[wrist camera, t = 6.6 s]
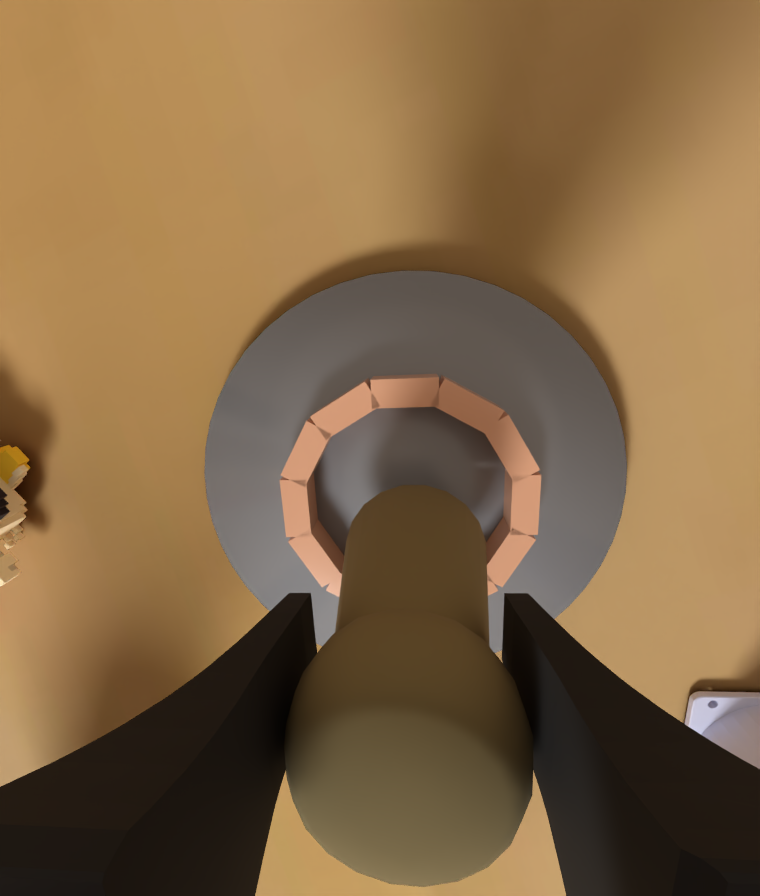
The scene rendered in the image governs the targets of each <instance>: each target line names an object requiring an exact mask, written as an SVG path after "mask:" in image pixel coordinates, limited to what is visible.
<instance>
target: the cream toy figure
mask: <svg viewBox="0 0 760 896" xmlns="http://www.w3.org/2000/svg"><path fill="white" fill-rule="evenodd" d="M0 441H1V440H0ZM28 461H29V459H28V458H27V457H26V456H25V455H24V454H23V453H22V451H21V450H20V449H19V448H18V447H17V446H16V447H13V448H12V447H11V446H10V445H7V446H4V447H0V540H1V539H3V540H4V541H5V542H6V544H4V546H5V547H6V548H7V549H9V548H11V547H13V546H14V545H15V543H14V542H13V541H12V539H14V540H15V541H16V542H17V541H19V540H21V539H22V538H23V537H25V536H24V535H23V534H22V533H21V531H22V530H24V529H23V528H22V527H21V526H20V525H19V523H20V522H21V521H23V520H24V519H25V518H26V516H25V515H24V513H25V512H26V511H27V509H26V507H25V506H24V505H25V504H26V503H27V502H26V501H25V500H24V499H23V498H22V497H21V496H20V495H19V494H18V493H17V492H16V491H15V490H14V489H15V488H16V487H17V486H18V485H19V484H20V483H21V482H22V481H23V480H22V478H23V477H24V476H26V475H27V471H28V470H29V469H30V468H31V467H30V466H29V465H28V464H27V462H28ZM10 531H12V532H13V533H14V534H15V536H13V535H12V534H11V533H10ZM17 561H18V559H17V558H16V557H15V556H14V555H13V554H12V553H11V552H9V553H7V554H6V555H4V554H3V553H2V552H1V551H0V587H1V586H3V585H4V584H6V583H7V582H9V581H10V580H12V579H14V578H15V577H16V576H18V575H19V574H20V573H21V571H20V570H19V569H18V568H17V567H16V566H15V565H14V564H15V563H16V562H17Z"/></svg>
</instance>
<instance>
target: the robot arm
mask: <svg viewBox="0 0 760 896" xmlns="http://www.w3.org/2000/svg"><path fill="white" fill-rule="evenodd" d="M316 654H317V647H316V637H315V627H314V618H313V608H312V598H311V593H289V594H287V595H286V596H285V597H284V598H283V599H282V600H281V601H280V602H279V603H278V604H277V605H276V606H275V607H274V608H273V609H272V610H271V611H270V612H269V613H268V614H267V615H266V616H265V617H264V618H262V619H261V620H260V621H259V622H258V623H257V624H256V625H255V626H254V627H253V628H252V629H251V630H250V631H249V632H248V633H247V634H246V635H244V636H243V637H242V638H241V639H240V640H239V641H238V642H237V643H236V644H234V645H233V646H232V647H231V648H230V649H229V650H227V651H226V652H225V653H224V654H223V655H221V656H220V657H219V658H218V659H217V660H216V661H214V662H213V663H212V664H211V665H210V666H208V667H207V668H206V669H205V670H203V671H202V672H201V673H199V674H198V675H197V676H196V677H194V678H193V679H192V680H190V681H189V682H187V683H186V684H185V685H183V686H182V687H180V688H179V689H178V690H176V691H175V692H173V693H172V694H171V695H169V696H168V697H166V698H165V699H163V700H162V701H160V702H158V703H157V704H155V705H154V706H152V707H150V708H149V709H147V710H146V711H144V712H143V713H141V714H139V715H138V716H136V717H135V718H133V719H131V720H130V721H128V722H127V723H125V724H123V725H122V726H120V727H118V728H117V729H115V730H113V731H111V732H109V733H108V734H106V735H104V736H102V737H101V738H99V739H97V740H95V741H93V742H91V743H89V744H88V745H86V746H84V747H82V748H80V749H78V750H76V751H74V752H73V753H71V754H69V755H67V756H65V757H63V758H61V759H59V760H57V761H55V762H53V763H50V764H48V765H46V766H44V767H42V768H40V769H38V770H35V771H33V772H31V773H29V774H27V775H25V776H23V777H21V778H18V779H16V780H14V781H12V782H10V783H8V784H6V785H3V786H1V787H0V896H255V893H256V888H257V884H258V879H259V874H260V870H261V865H262V860H263V856H264V851H265V847H266V843H267V838H268V834H269V830H270V825H271V821H272V817H273V812H274V808H275V804H276V800H277V797H278V793H279V790H280V786H281V783H282V780H283V777H284V773H285V770H286V763H285V752H284V740H285V730H286V722H287V718H288V715H289V711H290V707H291V704H292V700H293V697H294V693H295V690H296V688H297V686H298V683H299V681H300V678H301V676H302V674H303V672H304V670H305V669H306V668H307V666H308V665H309V664H310V662H311V661H312V660H313V658H314V657H315V656H316ZM502 661H503V665H504V666H505V668H506V669H507V670H508V672H509V673H510V675H511V676H512V678H513V679H514V680H515V683H516V686H517V689H518V692H519V695H520V697H521V700H522V703H523V706H524V709H525V712H526V715H527V718H528V721H529V724H530V727H531V731H532V734H533V770H534V773H535V776H536V779H537V782H538V785H539V788H540V791H541V795H542V798H543V801H544V805H545V808H546V812H547V815H548V819H549V823H550V827H551V832H552V836H553V840H554V844H555V848H556V853H557V857H558V861H559V865H560V869H561V874H562V878H563V882H564V887H565V891H566V896H760V692H708V691H698V692H695V693H693V694H692V695H691V696H690V698H689V703H688V708H687V713H686V719H685V724H684V723H682V722H680V721H679V720H677V719H676V718H674V717H673V716H671V715H670V714H668V713H667V712H665V711H664V710H663V709H661V708H660V707H658V706H657V705H655V704H654V703H653V702H651V701H650V700H649V699H647V698H646V697H644V696H643V695H642V694H640V693H639V692H638V691H636V690H635V689H633V688H632V687H631V686H630V685H628V684H627V683H626V682H624V681H623V680H622V679H620V678H619V677H618V676H617V675H616V674H614V673H613V672H612V671H611V670H610V669H608V668H607V667H606V666H605V665H604V664H602V663H601V662H600V661H599V660H597V659H596V658H595V657H594V656H593V655H592V654H591V653H589V652H588V651H587V650H586V649H585V648H584V647H583V646H582V645H581V644H579V643H578V642H577V641H576V640H575V639H574V638H573V637H572V636H571V635H570V634H569V633H568V632H567V631H566V630H565V629H564V628H562V627H561V626H560V625H559V624H558V623H557V622H556V621H555V620H554V619H553V618H552V617H551V616H550V615H549V614H548V613H547V612H546V611H545V610H544V609H543V608H542V607H541V606H540V605H539V604H538V603H537V602H536V601H535V600H534V599H533V598H532V597H531V596H530V595H529V594H528V593H504V614H503V641H502Z"/></svg>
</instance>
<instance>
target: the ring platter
mask: <svg viewBox="0 0 760 896" xmlns="http://www.w3.org/2000/svg"><path fill="white" fill-rule="evenodd" d="M626 474H627V460H626V451H625V441H624V435H623V431H622V427H621V423H620V419H619V415H618V411H617V408H616V406H615V404H614V401H613V399H612V396H611V394H610V392H609V389H608V387H607V385H606V383H605V381H604V379H603V378H602V376H601V374H600V373H599V371H598V369H597V368H596V366H595V365H594V363H593V361H592V360H591V358H590V357H589V356H588V355H587V353H586V352H585V351H584V350H583V349H582V347H581V346H580V345H579V344H578V343H577V341H576V340H575V339H574V338H573V337H572V335H570V334H569V333H568V332H567V331H566V330H565V329H564V328H563V327H561V326H560V325H559V324H558V323H557V322H556V321H555V320H554V319H553V318H551V317H550V316H549V315H548V314H546V313H545V312H543V311H542V310H540V309H539V308H537V307H536V306H534V305H532V304H531V303H529V302H528V301H526V300H525V299H523V298H521V297H519V296H517V295H515V294H513V293H511V292H508V291H506V290H504V289H502V288H500V287H498V286H496V285H493V284H490V283H486V282H483V281H480V280H476V279H473V278H470V277H467V276H462V275H455V274H449V273H442V272H436V271H396V272H388V273H380V274H372V275H368V276H364V277H360V278H357V279H353V280H350V281H346V282H342V283H339V284H337V285H335V286H333V287H330V288H328V289H326V290H323V291H321V292H319V293H316V294H314V295H312V296H310V297H309V298H307V299H306V300H304V301H302V302H301V303H299V304H297V305H296V306H294V307H292V308H291V309H289V310H288V311H286V312H285V313H284V314H283V315H281V316H280V317H279V318H278V319H277V320H275V321H274V322H273V323H272V324H271V325H269V326H268V327H267V328H266V329H265V330H264V331H263V332H262V333H261V334H260V335H259V336H258V337H257V338H256V340H255V341H254V342H253V343H252V344H251V345H250V346H249V347H248V348H247V349H246V351H245V352H244V354H243V355H242V357H241V358H240V359H239V361H238V362H237V364H236V365H235V367H234V368H233V370H232V371H231V373H230V375H229V377H228V379H227V381H226V383H225V385H224V387H223V389H222V391H221V393H220V395H219V397H218V400H217V403H216V406H215V409H214V412H213V415H212V418H211V421H210V426H209V432H208V437H207V443H206V450H205V483H206V493H207V500H208V505H209V509H210V513H211V517H212V522H213V525H214V527H215V530H216V533H217V535H218V538H219V541H220V543H221V546H222V548H223V550H224V551H225V553H226V555H227V557H228V559H229V561H230V563H231V565H232V567H233V568H234V570H235V571H236V572H237V574H238V575H239V577H240V578H241V580H242V581H243V582H244V584H245V585H246V587H247V588H248V589H249V590H250V591H251V592H252V593H253V595H254V596H255V597H256V598H257V599H258V600H259V601H260V602H261V604H262V605H263V606H265V607H266V608H267V609H268V610H269V611H271V610H272V609H273V608H274V607H275V606H276V605H277V604H278V603H279V602H280V601H281V600H282V599H283V598H284V597H285V596H286V595H287V594H289V593H311V598H312V608H313V618H314V627H315V637H316V643H317V644H319V645H321V646H323V645H324V644H325V643H326V642H327V641H328V639H329V638H330V637H331V636H332V635H333V634H334V633H335V628H336V620H337V612H338V604H339V595H340V587H341V579H342V571H343V563H344V555H345V547H346V540H347V537H348V533H349V530H350V526H351V523H352V521H353V519H354V518H355V516H356V515H357V514H358V512H359V511H360V509H361V508H362V506H363V505H364V504H365V503H367V502H368V501H369V500H371V499H372V498H374V497H375V496H376V495H378V494H379V493H380V492H383V491H386V490H389V489H392V488H395V487H398V486H401V485H427V486H430V487H434V488H437V489H440V490H443V491H447V492H448V493H450V494H451V495H453V496H454V497H456V498H457V499H459V500H460V501H462V502H463V503H464V504H466V505H467V507H468V508H469V509H470V511H471V512H472V513H473V514H474V516H475V517H476V518H477V520H478V521H479V523H480V526H481V529H482V532H483V535H484V537H485V540H486V554H487V583H488V613H489V642H490V648H491V649H492V651H493V652H494V653H496V652H498V651H501V650H502V641H503V614H504V593H528V594H529V595H530V596H531V597H532V598H533V599H534V600H535V601H536V602H537V603H538V604H539V605H540V606H541V607H542V608H543V609H544V610H545V611H546V612H547V613H548V614H549V615H550V616H551V617H552V618H553V619H555V618H556V617H557V616H558V615H559V614H560V613H562V612H563V611H564V610H565V609H566V608H567V607H568V606H570V604H571V603H572V602H573V601H574V600H575V599H576V598H577V597H578V595H579V594H580V593H581V592H582V591H583V590H584V589H585V587H586V586H587V585H588V583H589V582H590V580H591V579H592V578H593V576H594V575H595V573H596V572H597V570H598V569H599V567H600V566H601V564H602V562H603V560H604V558H605V556H606V554H607V552H608V550H609V548H610V546H611V544H612V542H613V539H614V536H615V533H616V530H617V527H618V524H619V521H620V518H621V514H622V508H623V503H624V498H625V493H626Z"/></svg>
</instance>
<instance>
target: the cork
mask: <svg viewBox="0 0 760 896" xmlns="http://www.w3.org/2000/svg"><path fill="white" fill-rule="evenodd" d="M284 752H285V763H286V774H287V781H288V784H289V788H290V792H291V795H292V799H293V802H294V804H295V806H296V808H297V811H298V813H299V815H300V817H301V819H302V822H303V824H304V826H305V828H306V830H307V831H308V832H309V833H310V834H311V835H312V836H313V837H314V838H315V840H316V841H317V842H318V843H319V844H320V845H321V846H322V847H323V849H324V850H325V851H326V852H327V853H328V854H330V855H331V856H333V857H334V858H336V859H337V860H339V861H340V862H342V863H343V864H345V865H346V866H348V867H349V868H351V869H352V870H354V871H356V872H358V873H361V874H363V875H366V876H369V877H372V878H375V879H378V880H381V881H384V882H387V883H389V884H397V885H408V886H418V887H426V886H433V885H439V884H445V883H451V882H457V881H460V880H462V879H464V878H466V877H468V876H471V875H473V874H475V873H477V872H479V871H481V870H483V869H485V868H487V867H489V866H490V865H491V864H492V863H493V862H494V861H495V860H496V859H497V858H498V857H499V856H500V855H501V854H502V853H503V852H504V851H505V850H506V849H507V848H508V847H509V846H510V845H511V843H512V841H513V839H514V836H515V834H516V832H517V830H518V828H519V825H520V823H521V821H522V819H523V816H524V814H525V811H526V809H527V806H528V804H529V801H530V799H531V796H532V785H533V734H532V731H531V727H530V724H529V721H528V718H527V715H526V712H525V709H524V706H523V703H522V700H521V697H520V695H519V692H518V689H517V686H516V683H515V680H514V679H513V678H512V676H511V675H510V673H509V672H508V670H507V669H506V668H505V666H504V665H503V663H502V662H501V661H500V660H499V658H498V657H497V656H496V654H495V653H494V652H493V651H492V649H491V648H490V642H489V613H488V583H487V554H486V540H485V537H484V535H483V532H482V529H481V526H480V523H479V521H478V520H477V518H476V517H475V516H474V514H473V513H472V512H471V511H470V509H469V508H468V507H467V505H466V504H464V503H463V502H462V501H460V500H459V499H457V498H456V497H454V496H453V495H451V494H450V493H448V492H447V491H443V490H440V489H437V488H434V487H430V486H427V485H401V486H398V487H395V488H392V489H389V490H386V491H383V492H380V493H379V494H378V495H376V496H375V497H374V498H372V499H371V500H369V501H368V502H367V503H365V504H364V505H363V506H362V508H361V509H360V511H359V512H358V514H357V515H356V516H355V518H354V519H353V521H352V523H351V526H350V530H349V533H348V537H347V540H346V547H345V555H344V563H343V571H342V579H341V587H340V595H339V604H338V612H337V620H336V628H335V633H334V634H333V635H332V636H331V637H330V638H329V639H328V641H327V642H326V643H325V644H324V645H323V646H322V648H321V649H320V650H319V652H318V653H317V654H316V656H315V657H314V658H313V660H312V661H311V662H310V664H309V665H308V666H307V668H306V669H305V670H304V672H303V674H302V676H301V678H300V681H299V683H298V686H297V688H296V690H295V693H294V697H293V700H292V704H291V707H290V711H289V715H288V718H287V722H286V730H285V740H284Z"/></svg>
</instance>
